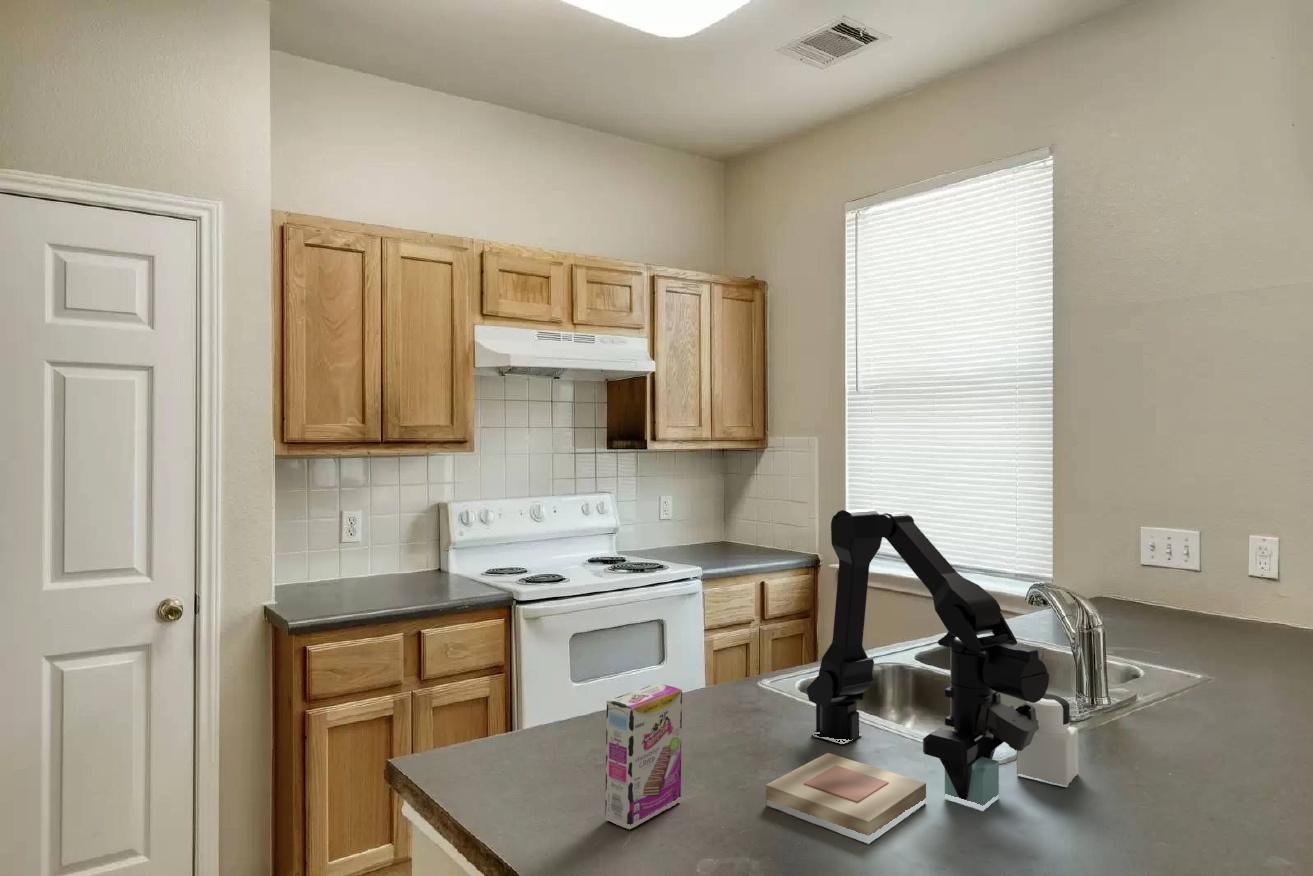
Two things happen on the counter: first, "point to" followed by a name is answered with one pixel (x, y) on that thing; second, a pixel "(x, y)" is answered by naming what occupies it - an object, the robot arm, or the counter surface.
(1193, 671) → the counter surface
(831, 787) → the stack base
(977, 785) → the teal block
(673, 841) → the counter surface
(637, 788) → the candy bar box
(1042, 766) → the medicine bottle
